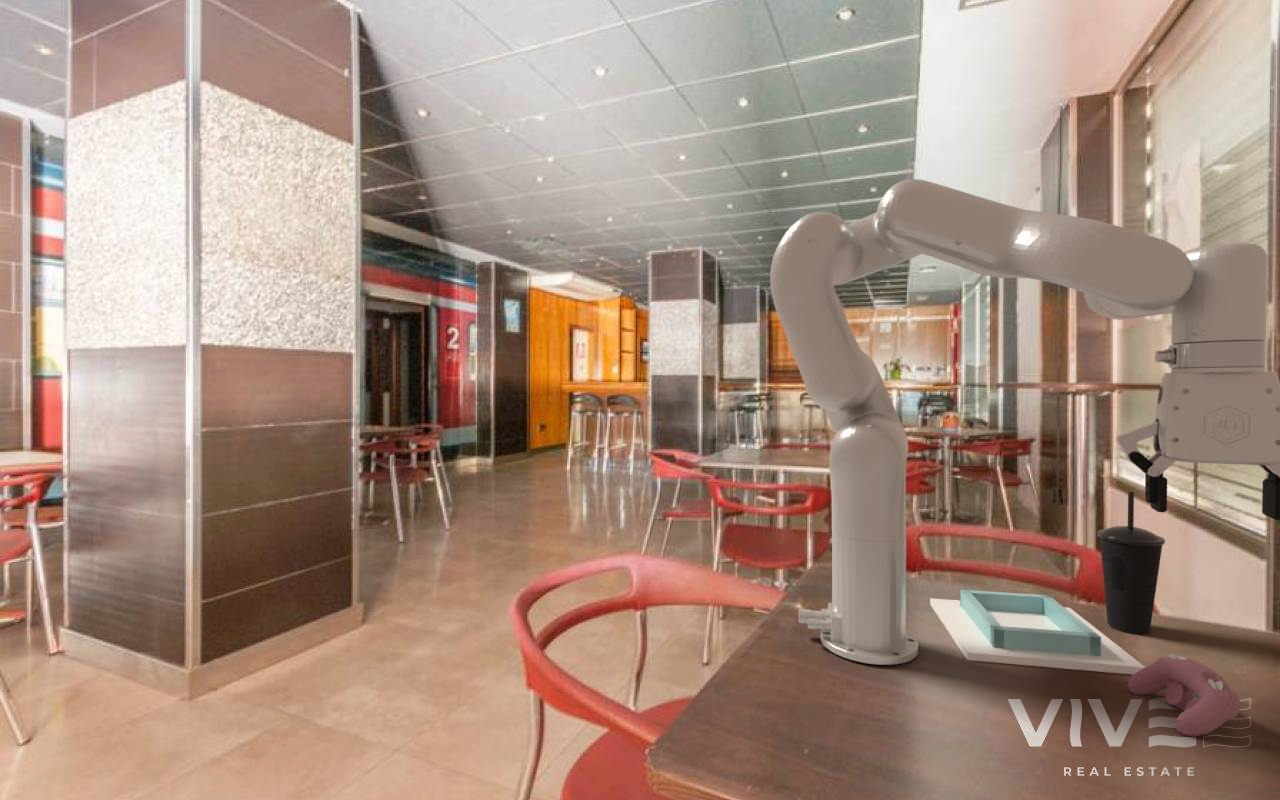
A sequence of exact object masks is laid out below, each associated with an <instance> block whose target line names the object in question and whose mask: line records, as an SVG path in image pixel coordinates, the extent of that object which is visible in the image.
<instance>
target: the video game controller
mask: <svg viewBox="0 0 1280 800" xmlns="http://www.w3.org/2000/svg"><path fill="white" fill-rule="evenodd" d="M1145 667H1146V666H1145ZM1127 688H1128V690H1129V691H1130V692H1131V693H1132V694H1133V695H1134V694H1135V695H1141V696H1142V695H1150V694H1153V693H1154V694H1155V693H1157V692H1160V691H1162V690H1163V691H1164V690H1165V697H1164V698H1165V700H1166V703H1168V704H1169V705H1172V706H1173V707H1175V708H1178V709H1180V710H1182V712H1180V714H1179V715H1178V716H1177V718H1176V719H1175V724H1174V726H1175V729H1176V730H1177V731H1178V733H1180V734H1181V735H1183V736H1186V737H1196V736H1197V737H1198V736H1202V735H1207V734H1208V733H1209V734H1210V733H1211V732H1213V731H1215V730H1217V729H1218V728H1219V727H1221V726H1222V725H1223V724H1224V723H1226V722H1229V721H1231V720H1233V719H1234V718H1236V717H1237V715H1238V714H1239V712H1240V710H1241V700H1240V697H1239V696H1238V694H1237V693H1236V691H1233V690H1232V688H1230V686H1229V685H1228V683H1227V681H1226V680H1225V679H1224V678H1223V677H1222V676H1221V675H1220V674H1219V673H1217V671H1215V670H1213V669H1212V668H1210V667H1208V666H1206V664H1205V665H1204V664H1203V663H1200V662H1198V661H1196V660H1194V659H1189V658H1187V657H1183V656H1177V655H1176V654H1175V653H1170V654H1168V656H1162V657H1160V658H1158V659H1157V660H1155V661H1154V662H1153V663H1152V664H1149V665H1148V666H1147V667H1146V668H1144V669H1142V670H1140V671H1138V672H1137V673H1135V674H1133V675H1132V674H1131V676H1130V678H1129V679H1128V681H1127ZM1193 693H1194V694H1195V695H1196V697H1197V698H1196V697H1195V698H1194V694H1193ZM1183 710H1184V711H1183Z"/></svg>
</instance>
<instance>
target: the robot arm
mask: <svg viewBox="0 0 1280 800" xmlns="http://www.w3.org/2000/svg"><path fill="white" fill-rule="evenodd" d="M921 255H925V256H928V257H932V258H934V259H937V260H940V261H942V262H946V263H948V264H952V265H953V266H954V265H955V266H958V267H959V268H962V269H965V270H968V271H970V272H973V273H976V274H979V275H983V276H986V277H992V278H997V279H998V278H999V279H1016V278H1017V279H1030V280H1031V279H1032V280H1036V281H1037V280H1038V281H1042V282H1048V283H1050V284H1054V285H1059V286H1062V287H1065V288H1069V289H1072V290H1075V291H1077V292H1081V293H1083V295H1084V300H1085V301H1086V304H1087V306H1088V307H1089V308H1090V309H1091V310H1092V311H1093V312H1094V313H1096V314H1097V315H1099V316H1101V317H1104V318H1107V319H1110V320H1111V319H1112V320H1117V321H1118V320H1120V321H1122V320H1123V321H1125V320H1133V319H1140V318H1145V317H1146V318H1147V317H1152V316H1159V315H1167V314H1170V315H1171V344H1170V345H1169V346H1168V348H1167V349H1164V350H1156V351H1155V353H1154V361H1155V363H1163V364H1167V365H1168V368H1169V369H1170V372H1164V373H1163V376H1162V379H1161V382H1160V387H1159V389H1158V390H1159V391H1158V395H1157V402H1156V405H1155V406H1156V407H1155V408H1156V409H1155V415H1154V421H1153V422H1150V423H1148V424H1146V425H1143V426H1140V427H1137V428H1134V429H1132V430H1130V431H1127V432H1124V433H1122V434H1119V435H1118V436H1117V437H1116V438H1115V439H1116V442H1117V443H1118V445H1119V447H1120V449H1121V450H1122V452H1123V453H1124V454H1125V456H1126V459H1127V460H1129V462H1131V463H1132V464H1133V465H1135V466H1136V467H1137V468H1138V469H1139V470H1141V472H1142V473H1144V474H1145V476H1144V477H1145V479H1144V480H1145V483H1144V484H1145V486H1144V494H1145V495H1144V498H1145V502H1146V503H1148V504H1150V508H1151V509H1153V510H1154V511H1155V512H1158V513H1165V512H1167V510H1168V478H1167V477H1165V476H1164V472H1165V471H1166V470H1167V469H1169V468H1170V467H1171V466H1172V465H1174V464H1175V463H1176V462H1181V463H1195V464H1198V463H1199V464H1216V465H1217V464H1221V465H1223V464H1224V465H1243V466H1244V465H1249V466H1258V467H1260V468H1261V469H1262V470H1263V471H1264V472H1265V473H1266V474H1267V478H1264V479H1263V480H1262V495H1261V497H1262V498H1261V499H1262V501H1261V502H1262V503H1261V504H1262V505H1261V506H1262V507H1261V512H1262V514H1263V515H1264V516H1266V517H1268V518H1271V519H1273V520H1275V521H1280V379H1279V376H1278V373H1277V371H1266V340H1267V339H1266V337H1267V336H1266V335H1267V334H1266V333H1267V297H1268V296H1267V293H1268V292H1267V290H1268V287H1267V286H1268V282H1267V281H1268V255H1267V252H1266V250H1265V249H1264V248H1263V247H1262V246H1261V245H1259V244H1256V243H1250V242H1235V243H1220V244H1212V245H1208V246H1207V245H1206V246H1201V247H1196V248H1192V249H1189V250H1186V251H1183V250H1182V249H1181V248H1179V247H1178V246H1176V245H1174V244H1173V243H1171V242H1169V241H1167V240H1165V239H1162V238H1158V237H1155V236H1154V235H1153V236H1152V235H1149V234H1146V233H1142V232H1140V231H1136V230H1132V229H1129V228H1125V227H1122V226H1119V225H1115V224H1112V223H1108V222H1104V221H1101V220H1097V219H1092V218H1091V219H1090V218H1086V217H1079V216H1072V215H1065V214H1058V213H1052V212H1046V211H1039V210H1030V209H1029V210H1028V209H1024V208H1019V207H1015V206H1011V205H1007V204H1004V203H1001V202H999V201H995V200H991V199H988V198H986V197H985V198H984V197H982V196H977V195H975V194H971V193H968V192H965V191H961V190H958V189H956V188H953V187H949V186H946V185H942V184H939V183H935V182H932V181H927V180H923V179H918V178H917V179H916V178H910V179H904V180H901V181H899V182H897V183H895V184H893V185H892V186H890V187H889V188H888V190H887V191H886V192H885V193H884V195H883V196H882V198H881V199H880V201H879V203H878V206H877V210H876V212H874V213H872V214H869V215H867V216H865V217H863V218H860V219H858V220H855V221H852V222H850V223H848V222H847V221H846V220H845V219H843V218H841V217H840V216H838V215H837V214H834V213H831V212H829V211H816V212H815V211H814V212H810V213H809V214H806V215H804V216H802V217H800V219H798V220H797V221H795V222H794V223H793V224H792V225H791V226H790V227H789V228H788V229H787V230H786V232H785V233H784V235H783V236H782V238H781V239H780V241H779V242H778V245H777V247H776V249H775V251H774V254H773V257H772V263H771V265H770V276H769V278H770V279H769V280H770V293H771V296H772V302H773V303H774V308H775V311H776V313H777V316H778V319H779V321H780V324H781V327H782V329H783V332H784V334H785V337H786V340H787V343H788V345H789V348H790V351H791V352H792V355H793V357H794V360H795V362H796V365H797V368H798V370H799V373H800V375H801V378H802V381H803V384H804V386H805V390H806V392H807V394H808V397H809V398H810V399H811V401H812V402H813V403H814V404H815V405H817V406H818V407H819V408H821V409H823V410H824V411H825V413H826V417H828V421H829V423H830V425H831V427H832V430H833V432H834V437H833V439H832V442H831V445H830V449H829V457H828V459H829V460H828V464H829V465H828V466H829V477H830V478H829V479H830V481H829V482H830V483H829V484H830V494H831V548H832V549H831V558H832V559H831V566H832V567H831V574H832V575H831V602H828V604H827V605H828V607H827V608H821V609H820V610H812V609H808V608H806V609H805V608H798V623H799V624H807V629H811V630H820V641H821V644H822V645H823V646H824V648H826V649H828V650H829V651H830V652H832V653H833V654H835V655H837V656H839V657H841V658H844V659H847V660H850V661H853V662H859V663H863V664H868V665H878V666H891V665H893V666H894V665H899V664H905V663H908V662H910V661H912V660H914V659H915V658H916V657H917V655H918V654H919V644H918V641H917V639H916V638H915V637H914V636H913V635H911V633H909V632H907V629H906V628H907V627H906V622H907V621H906V620H907V619H906V615H907V614H906V612H907V611H906V608H907V605H906V604H907V603H906V602H907V601H906V600H907V599H906V598H907V591H906V590H907V587H906V585H907V578H906V577H907V535H906V533H907V532H906V531H907V528H906V527H907V516H906V515H907V507H906V506H907V498H906V497H907V494H906V493H907V491H906V490H907V487H906V485H907V482H906V481H907V480H906V477H907V460H908V459H907V458H908V454H909V441H908V436H907V432H906V431H905V428H904V426H903V424H902V422H901V419H900V417H899V415H898V413H897V409H896V408H895V406H894V404H893V401H892V399H891V396H890V394H889V392H888V390H887V387H886V385H885V383H884V380H883V378H882V375H881V373H880V372H879V369H878V367H877V366H876V363H875V362H874V360H873V359H872V358H871V357H870V356H869V355H868V354H867V353H866V352H864V351H863V350H862V349H861V347H860V346H859V345H860V344H859V343H858V341H857V339H856V337H855V336H854V333H853V330H852V329H851V326H850V324H849V322H848V319H847V317H846V313H845V310H844V309H843V307H842V304H841V303H840V302H841V301H840V300H839V297H838V295H837V293H836V292H837V291H836V289H835V286H839V285H840V286H841V285H844V284H846V283H850V282H852V281H853V282H854V281H857V280H858V279H861V278H865V277H866V276H869V275H872V274H874V273H877V272H880V271H884V270H886V269H888V268H889V269H890V268H892V267H894V266H896V265H899V264H901V263H905V262H907V261H909V260H911V259H914V258H916V257H918V256H921ZM1149 438H1152V439H1153V442H1152V443H1153V449H1154V451H1155V453H1154V454H1153V455H1152V456H1151V457H1150V458H1147V457H1146V456H1145V455H1144V454H1142V453H1141V451H1140V450H1139V448H1138V445H1137V444H1138V443H1139V442H1141V441H1144V440H1147V439H1149Z"/></svg>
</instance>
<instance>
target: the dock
mask: <svg viewBox="0 0 1280 800" xmlns="http://www.w3.org/2000/svg"><path fill="white" fill-rule="evenodd" d="M930 606H931V607H932V609H933V611H934V612H935V614H936V615H937V617H938V618H939V620H940V621H941V623H942V624H943V626H944V627H945V629H946V630H947V633H949V635H950V637H951V638H952V639H953V640H954V642H955V643H956V645H957V646H958V649H959V650H960V651H961V653H962V654H963V655H964V656H963V657H965V658H966V660H967V661H973V662H984V663H985V662H986V663H995V664H997V663H998V664H1007V665H1008V664H1009V665H1018V666H1019V665H1020V666H1032V667H1040V668H1041V667H1043V668H1054V669H1065V670H1078V671H1085V672H1086V671H1088V672H1098V673H1099V672H1101V673H1110V674H1124V675H1131V676H1132V675H1133V674H1135V673H1137V672H1138V671H1140V670H1142V669H1144V668H1146V666H1145V665H1143V664H1142V663H1140V662H1139V661H1138V660H1137V659H1135V658H1134V657H1133V656H1132V655H1130V654H1129V653H1128V652H1126V651H1125V650H1124V649H1123V648H1122V647H1120V646H1119V645H1118V644H1116V643H1115V642H1114V641H1112V640H1111V639H1110V638H1109V637H1107V636H1106V635H1105V634H1104V633H1103V632H1101V631H1100V630H1099V629H1097V628H1096V627H1095V626H1094V625H1092V624H1091V623H1090V622H1089V621H1087V620H1086V619H1084V618H1083V617H1082V616H1081V615H1079V614H1078V612H1076V611H1074V610H1073V609H1072V608H1071V607H1066V606H1065V607H1064V606H1063V605H1061V604H1060V603H1059V602H1058V601H1057V600H1055V599H1054V598H1053V597H1051V596H1050V595H1049V594H1036V593H1035V594H1034V593H1019V592H1017V593H1015V592H1003V591H1001V592H1000V591H987V590H986V591H985V590H972V589H971V590H970V589H960V590H959V600H958V599H943V598H932V597H931V598H930Z"/></svg>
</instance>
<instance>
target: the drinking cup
mask: <svg viewBox="0 0 1280 800" xmlns="http://www.w3.org/2000/svg"><path fill="white" fill-rule="evenodd" d="M1134 508H1135V492H1134V491H1128V492H1127V525H1117V526H1111V527H1107V528H1104V529H1099V530H1097V536H1098V537H1099V543H1100V553H1101V563H1102V564H1101V565H1102V574H1103V575H1102V577H1103V585H1104V597H1105V607H1106V608H1105V609H1106V620H1107V621H1106V622H1107V625H1108V624H1109V625H1110V626H1112V627H1113V629H1114V628H1115V629H1114V630H1116V629H1118V630H1117V631H1119V630H1121V631H1120V632H1123V631H1124V633H1127V632H1128V634H1132V633H1133V634H1134V635H1147V634H1150V632H1151V627H1152V626H1151V625H1152V620H1153V619H1152V618H1153V613H1154V605H1155V599H1156V593H1157V592H1156V591H1157V585H1158V578H1159V571H1160V563H1161V557H1162V549H1163V546H1164V545H1165V544H1166V540H1165V538H1164V537H1162V536H1160V535H1158V534H1155V533H1153V532H1152V531H1149V530H1146V529H1144V528H1139V527H1135V525H1134V520H1135V517H1134V516H1135V513H1134V512H1135V511H1134V510H1135V509H1134ZM1109 625H1108V626H1109ZM1110 626H1109V627H1110ZM1112 627H1111V628H1112ZM1133 634H1132V635H1133Z"/></svg>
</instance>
